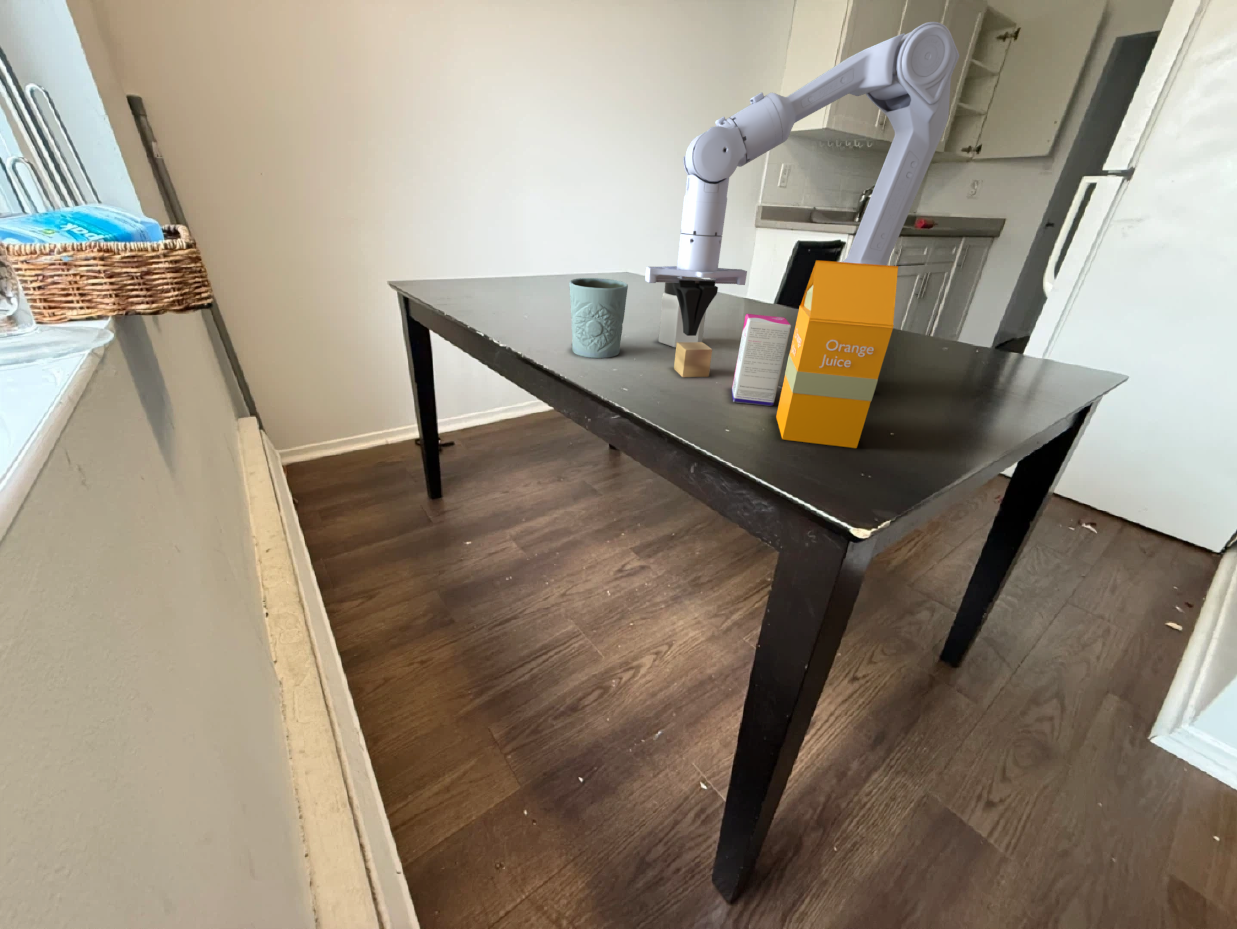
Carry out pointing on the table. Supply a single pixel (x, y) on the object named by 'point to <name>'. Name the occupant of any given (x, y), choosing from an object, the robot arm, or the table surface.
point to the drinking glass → (597, 316)
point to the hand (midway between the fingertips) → (689, 334)
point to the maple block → (692, 359)
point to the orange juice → (837, 352)
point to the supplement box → (760, 359)
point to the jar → (675, 319)
